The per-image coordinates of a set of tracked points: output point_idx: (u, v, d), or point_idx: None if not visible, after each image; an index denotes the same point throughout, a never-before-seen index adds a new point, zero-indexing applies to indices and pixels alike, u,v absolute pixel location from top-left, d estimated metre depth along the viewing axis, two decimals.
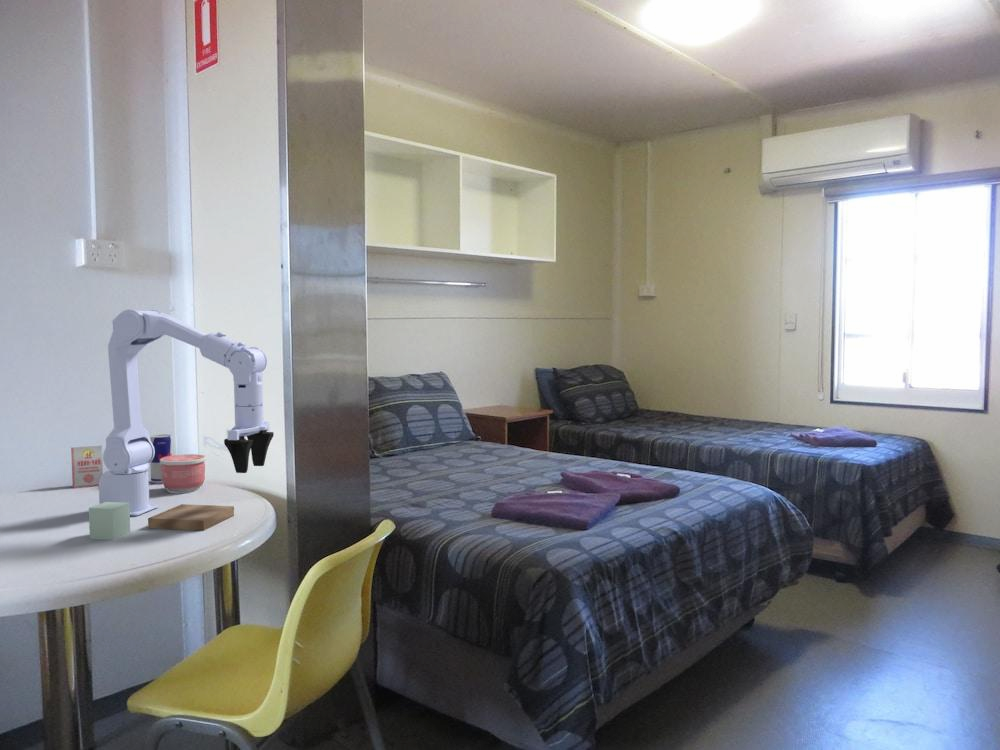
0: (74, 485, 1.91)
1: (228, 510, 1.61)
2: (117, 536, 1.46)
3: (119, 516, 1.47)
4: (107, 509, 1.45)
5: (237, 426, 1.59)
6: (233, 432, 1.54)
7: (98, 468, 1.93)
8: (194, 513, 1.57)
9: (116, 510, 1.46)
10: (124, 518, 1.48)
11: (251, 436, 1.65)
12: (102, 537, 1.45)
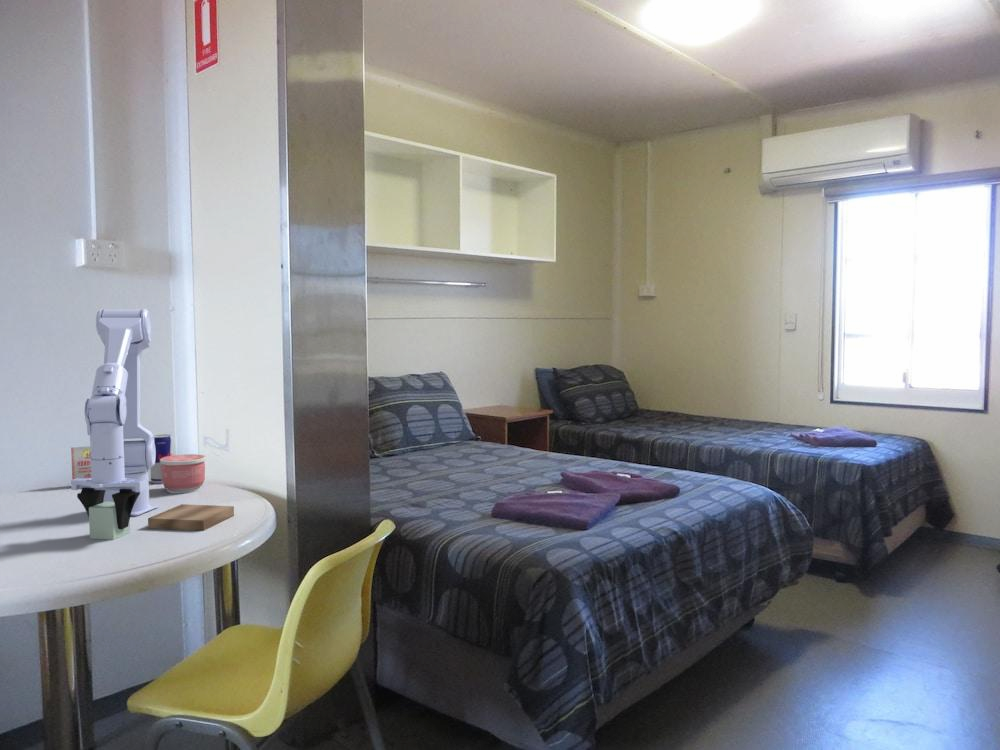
0: None
1: (228, 510, 1.61)
2: (117, 536, 1.46)
3: None
4: (107, 509, 1.45)
5: None
6: None
7: None
8: (194, 513, 1.57)
9: None
10: None
11: None
12: (102, 536, 1.45)
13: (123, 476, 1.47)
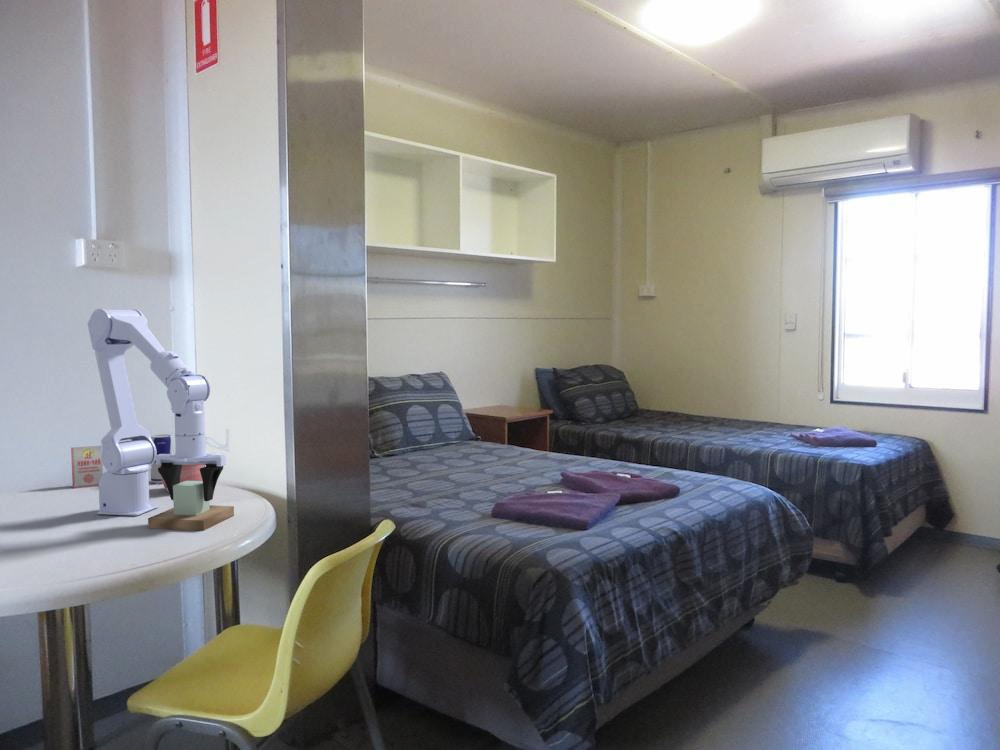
0: (74, 485, 1.91)
1: (228, 510, 1.61)
2: (199, 512, 1.56)
3: (201, 493, 1.57)
4: (190, 486, 1.55)
5: None
6: None
7: (98, 468, 1.93)
8: None
9: (198, 487, 1.56)
10: None
11: None
12: (185, 513, 1.55)
13: (204, 452, 1.57)
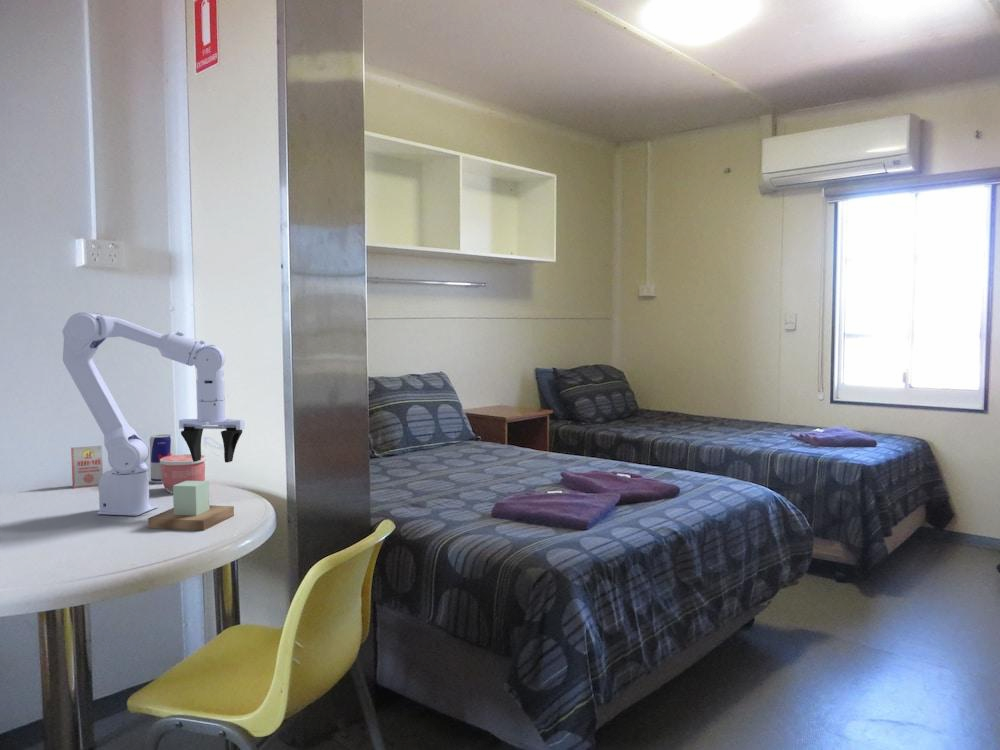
0: (74, 485, 1.91)
1: (228, 510, 1.61)
2: (199, 512, 1.56)
3: (201, 493, 1.57)
4: (190, 486, 1.55)
5: None
6: None
7: (98, 468, 1.93)
8: None
9: (198, 487, 1.56)
10: (205, 495, 1.58)
11: None
12: (185, 513, 1.55)
13: (224, 417, 1.69)
